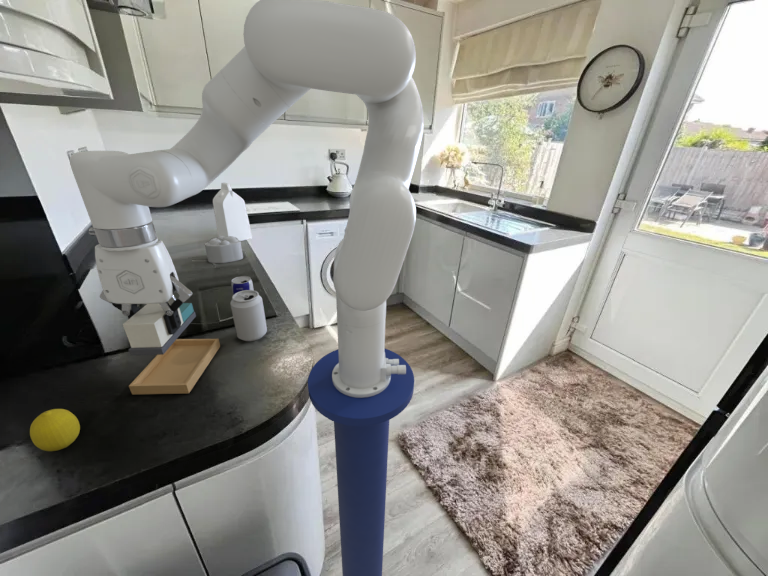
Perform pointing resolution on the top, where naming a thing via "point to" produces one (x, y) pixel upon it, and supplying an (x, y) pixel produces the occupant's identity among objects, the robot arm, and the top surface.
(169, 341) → the sneaker
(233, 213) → the milk
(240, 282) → the energy drink
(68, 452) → the top surface
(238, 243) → the lumpy-topped squat cylinder
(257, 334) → the can
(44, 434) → the lemon
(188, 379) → the wooden tray
